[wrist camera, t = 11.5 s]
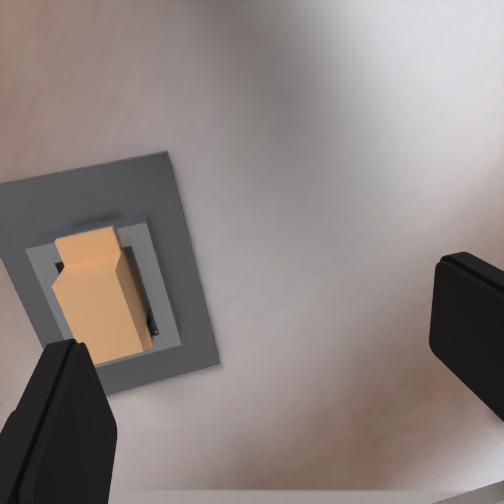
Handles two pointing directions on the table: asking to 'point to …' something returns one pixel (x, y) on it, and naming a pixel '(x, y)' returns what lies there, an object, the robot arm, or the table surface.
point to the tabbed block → (101, 295)
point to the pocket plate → (129, 235)
